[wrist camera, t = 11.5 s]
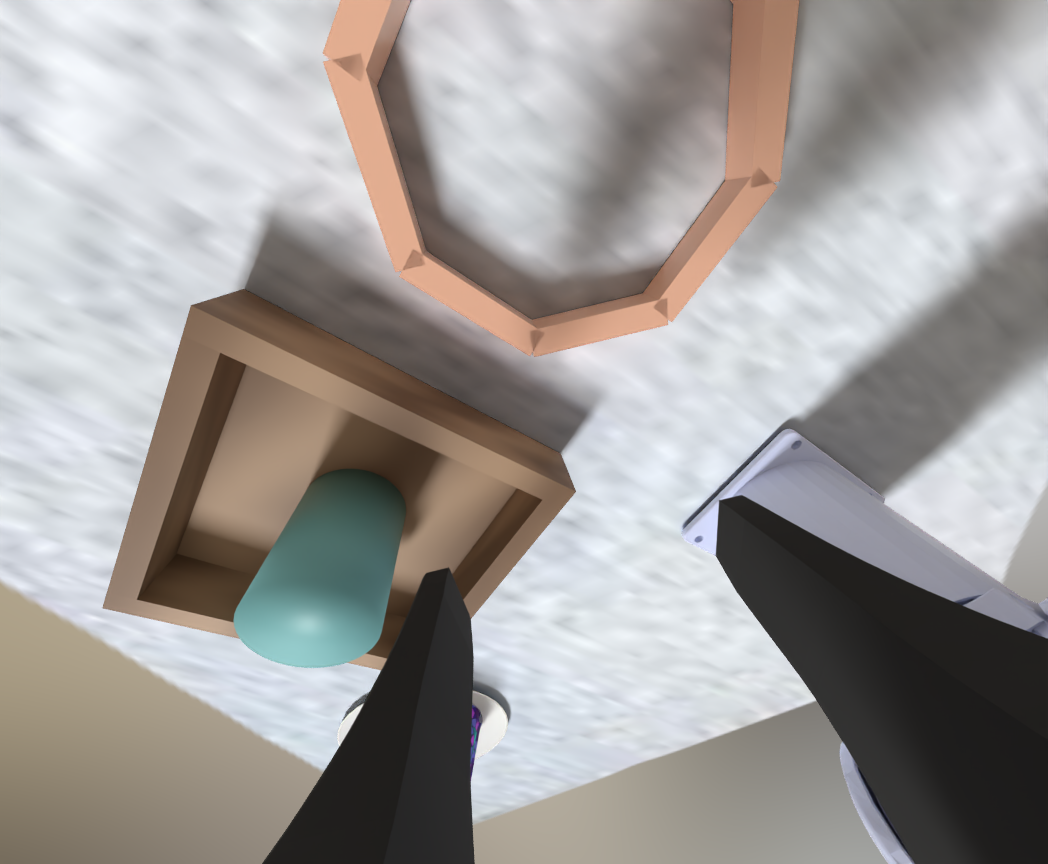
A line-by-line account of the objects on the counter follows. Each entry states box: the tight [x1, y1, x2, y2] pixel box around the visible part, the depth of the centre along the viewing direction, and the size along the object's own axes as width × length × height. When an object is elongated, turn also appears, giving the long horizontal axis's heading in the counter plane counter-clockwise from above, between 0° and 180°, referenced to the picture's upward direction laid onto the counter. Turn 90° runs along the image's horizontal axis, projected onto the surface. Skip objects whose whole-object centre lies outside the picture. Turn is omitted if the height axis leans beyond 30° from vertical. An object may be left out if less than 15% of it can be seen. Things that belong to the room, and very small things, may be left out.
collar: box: [323, 0, 799, 357], centre depth 12 cm, size 13×13×2 cm
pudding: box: [337, 691, 508, 776], centre depth 27 cm, size 12×12×5 cm
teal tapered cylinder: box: [234, 469, 406, 668], centre depth 16 cm, size 4×6×6 cm
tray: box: [103, 289, 576, 670], centre depth 17 cm, size 14×14×3 cm
